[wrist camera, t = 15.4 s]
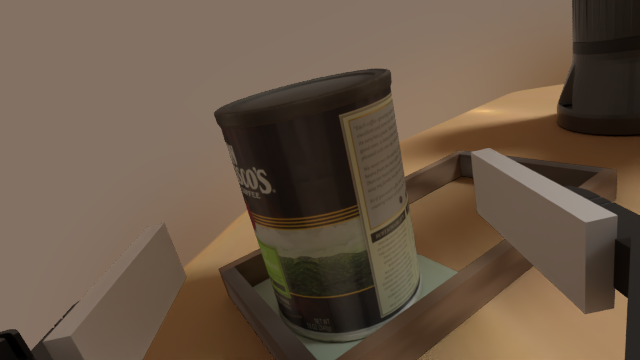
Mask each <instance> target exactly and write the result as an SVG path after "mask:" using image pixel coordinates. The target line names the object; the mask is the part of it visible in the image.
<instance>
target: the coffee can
mask: <svg viewBox="0 0 640 360" xmlns="http://www.w3.org/2000/svg"><path fill="white" fill-rule="evenodd" d="M390 86H391V72H390V70H387V69H367V70H360V71H353V72H346V73H341V74H336V75H331V76H326V77H321V78H316V79H312V80H309V81H303V82H299V83H295V84H291V85H287V86H284V87H279V88H277V89H272V90H269V91H265V92H262V93H259V94H256V95H252V96H249V97H246V98H243V99H240V100H237V101H234V102H232V103H230V104H227V105H225V106H223V107H221V108H219V109H218V110H217V111H215V113H214V116H215V118H216V121H217V124H218V125H219V126H220V127H221V129H222V133H223V135H224V140H225V142H226V144H227V147H228V151H229V154H230V158H231V160H232V163H233V166H234V169H235V172H236V175H237V178H238V182H239V184H240V188H241V191H242V194H243V197H244V201H245V203H246V206H247V210H248V213H249V216H250V219H251V222H252V225H253V228H254V231H255V234H256V237H257V240H258V243H259V247H260V250H261V253H262V256H263V259H264V262H265V265H266V268H267V271H268V274H269V277H270V281H271V284H272V287H273V290H274V294H275V296H276V299H277V302H278V309H279V314H280V316H281V318H282V320H283V321H284V323H285V324H286V325H287V326H288V327H289V328H290V329H291V330H293V331H294V332H296V333H298V334H299V335H301V336H304V337H306V338H309V339H313V340H317V341H323V342H349V341H356V340H360V339H364V338H366V337H368V336H369V335H371V334H372V333H374V332H375V331H376V330H378V329H379V328H381V327H382V326H383V325H385V324H386V323H388V322H389V321H390V320H392V319H393V318H395V317H396V316H397V315H399V314H400V313H402V312H403V311H404V310H406V309H407V308H409V307H410V306H412V305H413V304H414V303H416V302H417V301H418V300H419V298H420V296H421V293H422V288H423V283H422V282H423V281H422V275H421V272H420V269H419V264H418V258H417V251H416V245H415V239H414V233H413V226H412V220H411V214H410V208H409V201H408V195H407V189H406V183H405V176H404V170H403V163H402V157H401V151H400V145H399V138H398V132H397V126H396V120H395V113H394V107H393V100H392V94H391V88H390Z"/></svg>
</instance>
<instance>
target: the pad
mask: <svg viewBox="0 0 640 360" xmlns="http://www.w3.org/2000/svg"><path fill="white" fill-rule="evenodd" d="M417 258H418V264H419V269H420V272H421V275H422V281H423V282H422V283H423V288H422V293H421V296H420V298H419V300H420V299H421V298H423V297H424V296H426V295H427V294H428V293H430V292H431V291H433V290H434V289H435V288H437V287H438V286H440V285H441V284H443V283H444V282H445V281H447V280H448V279H450V278H451V277H452V276H454V275H455V274H457V273H458V272H457V271H455V270H453V269H451V268H448V267H446V266H444V265H442V264H440V263H437V262H435V261H433V260H431V259H429V258H426V257H424V256H422V255H420V254H417ZM253 288H254V290H255V291H256V292H257V293H258V294H259V295H260V296H261V297H262V299H263V300H264V301H265V302H266V303H267V304H268V305H269V306H270V307H271V309H272V310H273V311H274V312H275V313H276V314H277V315H278V316H279V318H280V319H281V320H282V318H281V316H280V314H279V309H278V302H277V299H276V296H275V294H274V290H273V287H272V284H271V281H270V278H269V279H267V280H265V281H263V282H261V283H260V284H258V285H256V286H254V287H253ZM419 300H418V301H419ZM282 321H283V320H282ZM283 322H284V321H283ZM288 328H289V327H288ZM289 329H290V328H289ZM290 330H291V329H290ZM291 331H292V332H293V333H294V334H295V335H296V336H297V338H298V339H299V340H300V341H301V342H302V343H303V344H304V345H305V347H306V348H307V349H308V350H309V351H310V352H311V353H312V354H313V355H314V357H315V358H316V359H317V360H335V359H337V358H338V357H340V356H341V355H343V354H344V353H345V352H347V351H348V350H350V349H351V348H352V347H354V346H355V345H357V344H358V343H359V342H361V341H362V340H364V339H365V338H364V339H360V340H356V341H349V342H323V341H317V340H313V339H309V338H306V337H304V336H301V335H299V334H298V333H296V332H294V331H293V330H291Z"/></svg>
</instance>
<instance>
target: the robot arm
mask: <svg viewBox="0 0 640 360" xmlns="http://www.w3.org/2000/svg"><path fill="white" fill-rule="evenodd" d="M572 2H573V3H572V5H573V6H572V7H573V61H572V64H571V67H570V70H569V73H568V76H567V79H566V82H565V84H564V87H563V90H562V93H561V96H560V99H559V102H558V105H557V123H558V125H560V126H561V127H563V128H565V129H568V130H572V131H576V132H582V133H590V134H605V135H632V134H640V0H573V1H572ZM471 160H472V170H473V179H474V189H475V199H476V209H477V213H478V214H479V215H480V216H482V217H483V218H484V219H485V220H486V221H487V222H488V223H489V224H490V225H491V226H492V227H493V228H494V229H495V230H496V231H497V232H498V233H500V234H501V235H502V236H503V237H504V238H505V239H506V240H507V241H508V242H509V243H510V244H511V245H512V246H513V247H514V248H515V249H517V250H518V251H519V252H520V253H521V254H522V255H523V256H524V257H525V258H526V259H527V260H528V261H529V262H530V263H531V264H532V265H533V266H535V267H536V268H537V269H538V270H539V271H540V272H541V273H542V274H543V275H544V276H545V277H546V278H547V279H548V280H549V281H550V282H551V283H553V284H554V285H555V286H556V287H557V288H558V289H559V290H560V291H561V292H562V293H563V294H564V295H565V296H566V297H567V298H568V299H569V300H571V301H572V302H573V303H574V304H575V305H576V306H577V307H578V308H579V309H580V310H581V311H582V312H583V313H584V314H588V313H593V312H598V311H603V310H608V309H612V308H614V300H615V289H616V290H618V291H619V292H620V293H622V294H623V295H624V296H626V297H627V298H628V307H627V326H626V348H625V360H640V215H638V214H636V213H634V212H632V211H630V210H628V209H626V208H624V207H622V206H620V205H618V204H616V203H611V201H610V200H607V199H605V198H603V197H602V198H601V197H600V196H599V195H597V194H595V193H593V192H591V191H589V190H587V189H583V188H578V187H574V186H565V187H563V186H561V185H559V184H557V183H555V182H553V181H551V180H550V179H548V178H546V177H544V176H542V175H540V174H538V173H536V172H534V171H532V170H531V169H529V168H527V167H525V166H523V165H521V164H519V163H517V162H515V161H513V160H512V159H510V158H508V157H506V156H504V155H502V154H500V153H498V152H496V151H494V150H493V149H491V148H486V149H482V150H478V151H473V152H471ZM185 279H186V274H185V272H184V269H183V267H182V265H181V262H180V260H179V257H178V255H177V252H176V250H175V247H174V245H173V243H172V240H171V238H170V235H169V233H168V230H167V228H166V226H165V223H161V224H157V225H153V226H148V227H147V228H146V229H145V230H144V231H143V232H142V233H141V234H140V235H139V236H138V237H137V238H136V240H135V241H134V242H133V243H132V244H131V245H130V246H129V247H128V248H127V249H126V251H125V252H124V253H123V254H122V255H121V256H120V257H119V259H117V261H116V262H115V263H114V264H113V265H112V266H111V267H110V268H109V269H108V270H107V271H106V273H105V274H104V275H103V276H102V277H101V278H100V279H99V280H98V281H97V282H96V284H95V285H94V286H93V287H92V288H91V289H90V290H89V291H88V292H87V293H86V294H85V296H84V297H83V298H82V299H81V300H80V301H78V302H77V303H76V304H74V305H73V306H72V307H71V308H70V309H69V310H68V311H67V313H66V314H65V315H64V316H63V318H62V319H60V320H59V321H58V322H57V323H56V324H55V327H54V328H52V329H51V330H50V331H49V332H48V333H47V334H46V335H45V336H44V338H43V339H42V340H41V341H40V342H39V343H38V344H37V345H36V346H35V347H34V348H33V349H32V351H30V349H29V348H28V346H27V345H26V343H25V341H24V340H23V338H22V337H21V335H20V333H19V332H18V331H17V330H16V329H15V330H14V329H12V330H11V329H10V330H6V331H2V332H0V360H143V358H144V356H145V354H146V352H147V350H148V349H149V347H150V345H151V343H152V341H153V339H154V337H155V335H156V334H157V332H158V330H159V328H160V326H161V324H162V322H163V320H164V319H165V317H166V315H167V313H168V311H169V309H170V307H171V305H172V304H173V302H174V300H175V298H176V296H177V294H178V292H179V290H180V289H181V287H182V285H183V283H184V281H185Z"/></svg>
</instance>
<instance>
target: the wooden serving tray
mask: <svg viewBox="0 0 640 360" xmlns="http://www.w3.org/2000/svg"><path fill="white" fill-rule="evenodd" d="M506 157H508V158H510V159H512V160H513V161H515V162H517V163H519V164H521V165H523V166H525V167H527V168H529V169H531V170H532V171H534V172H536V173H538V174H540V175H542V176H544V177H546V178H548V179H550V180H551V181H553V182H555V183H557V184H559V185H561V186H563V187H565V186H574V187H578V188H583V189H587V190H589V191H591V192H593V193H595V194H597V195H599V196H600V197H601V198H602V197H603V198H605V199H607V200H610V201H611V203H612V202H613V201H614V200H615V199H616V191H617V169H609V168H601V167H593V166H584V165H576V164H568V163H560V162H552V161H543V160H535V159H527V158H519V157H511V156H506ZM460 176H466V177H472V178H473V170H472V160H471V152H470V151H461V150H459V151H457V152H455V153H452V154H450V155H448V156H446V157H444V158H442V159H440V160H438V161H436V162H434V163H432V164H430V165H428V166H426V167H424V168H422V169H420V170H418V171H416V172H414V173H412V174H410V175H408V176H406V177H405V183H406V189H407V195H408V201H409V204H410V203H412V202H414V201H416V200H417V199H419V198H421V197H423V196H425V195H427V194H429V193H430V192H432V191H434V190H436V189H438V188H440V187H441V186H443V185H445V184H447V183H449V182H451V181H453V180H454V179H456V178H458V177H460ZM532 266H533V265H532V264H531V263H530V262H529V261H528V260H527V259H526V258H525V257H524V256H523V255H522V254H521V253H520V252H519V251H518V250H517V249H515V248H514V247H513V246H512V245H511V244H510V243H509V242H508V241H507V240H506V239H504V240H503V241H502V242H500V243H499V244H497V245H496V246H495V247H493V248H492V249H490V250H489V251H488V252H486V253H485V254H483V255H482V256H481V257H479V258H478V259H476V260H475V261H474V262H472V263H471V264H469V265H468V266H466V267H465V268H464V269H462V270H461V271H459V272H458V273H457V274H455V275H454V276H452V277H451V278H450V279H448V280H447V281H445V282H444V283H443V284H441V285H440V286H438V287H437V288H435V289H434V290H433V291H431V292H430V293H428V294H427V295H426V296H424V297H423V298H421V299H420V300H419V301H417V302H416V303H414V304H413V305H412V306H410V307H409V308H407V309H406V310H404V311H403V312H402V313H400V314H399V315H397V316H396V317H395V318H393V319H392V320H390V321H389V322H388V323H386V324H385V325H383V326H382V327H381V328H379V329H378V330H376V331H375V332H374V333H372V334H371V335H369V336H368V337H366V338H365V339H364V340H362V341H361V342H359V343H358V344H357V345H355V346H354V347H352V348H351V349H350V350H348V351H347V352H345V353H344V354H343V355H341V356H340V357H338V358H337V359H335V360H417V359H418V358H419V357H420V356H422V355H423V354H424V353H425V352H427V351H428V350H429V349H430V348H432V347H433V346H434V345H435V344H437V343H438V342H439V341H440V340H442V339H443V338H444V337H445V336H447V335H448V334H449V333H450V332H452V331H453V330H454V329H455V328H456V327H458V326H459V325H460V324H461V323H463V322H464V321H465V320H466V319H468V318H469V317H470V316H471V315H473V314H474V313H475V312H476V311H478V310H479V309H480V308H481V307H483V306H484V305H485V304H486V303H488V302H489V301H490V300H491V299H492V298H494V297H495V296H496V295H497V294H499V293H500V292H501V291H502V290H504V289H505V288H506V287H507V286H509V285H510V284H511V283H512V282H514V281H515V280H516V279H517V278H519V277H520V276H521V275H522V274H524V273H525V272H526V271H527V270H528V269H530V268H531V267H532ZM219 271H220V274H221V277H222V279H223V282H224V285H225V287H226V290H227V293H228V295H229V297H230V298H231V299H232V301H233V302H234V304H235V305H236V306H237V308H238V309H239V310H240V312H241V313H242V314H243V316H244V317H245V319H246V320H247V321H248V323H249V324H250V325H251V327H252V328H253V330H254V331H255V332H256V334H257V335H258V336H259V338H260V339H261V340H262V342H263V343H264V345H265V346H266V347H267V349H268V350H269V351H270V353H271V354H272V356H273V357H274V358H275V360H317V359H316V358H315V357H314V355H313V354H312V353H311V352H310V351H309V350H308V349H307V348H306V347H305V345H304V344H303V343H302V342H301V341H300V340H299V339H298V338H297V336H296V335H295V334H294V333H293V332H292V331H291V330H290V329H289V328H288V326H287V325H286V324H285V323H284V322H283V321H282V320H281V319H280V318H279V316H278V315H277V314H276V313H275V312H274V311H273V310H272V309H271V307H270V306H269V305H268V304H267V303H266V302H265V301H264V300H263V299H262V297H261V296H260V295H259V294H258V293H257V292H256V291H255V290H254V288H253V287H254V286H256V285H258V284H260V283H261V282H263V281H265V280H267V279H269V278H270V277H269V274H268V271H267V268H266V265H265V262H264V259H263V256H262V253H261V250H260V249H258V250H256V251H254V252H252V253H250V254H248V255H246V256H244V257H242V258H240V259H238V260H236V261H234V262H231V263H229V264H227V265H225V266H223V267H221V268H219Z"/></svg>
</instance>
